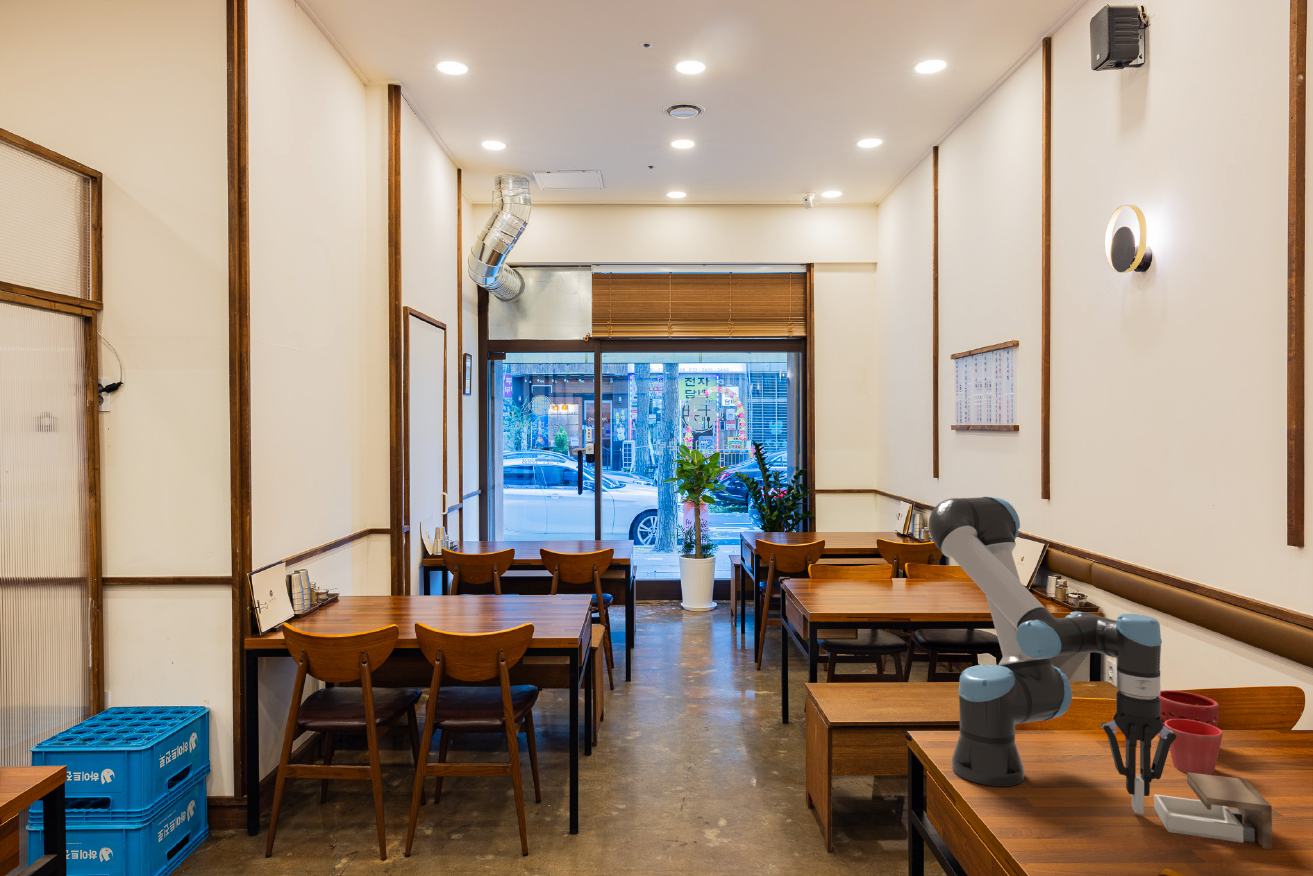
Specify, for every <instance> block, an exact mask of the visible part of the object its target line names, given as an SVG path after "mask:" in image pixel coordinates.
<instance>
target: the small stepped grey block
mask: <svg viewBox="0 0 1313 876" xmlns="http://www.w3.org/2000/svg"><path fill="white" fill-rule="evenodd" d="M1228 809H1229V810H1230V811H1231V812H1232V814H1233V815H1234V816H1235V817H1236V819H1237V820H1238V821H1239V822H1240V824H1241V825H1242V826H1243V842H1249V843H1256V839H1255V829H1254V828H1253V827H1252V825H1251V824H1246V823H1242V814H1241V813H1240V811H1239V810H1238V809H1235V808H1234V809H1233V808H1228Z"/></svg>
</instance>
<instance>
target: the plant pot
mask: <svg viewBox="0 0 1313 876" xmlns="http://www.w3.org/2000/svg"><path fill="white" fill-rule="evenodd" d="M1158 697H1159V698H1160V700H1161V704H1160V719H1161V721H1162V723H1163V726H1164V727H1165V721H1167V720H1170V719H1188V720H1194V721H1199V722H1203V723H1206V724H1209V725H1212V726H1214V727H1217V726H1218V720H1219V717H1220V716H1219V712H1220V705H1219V703H1218V702H1217V701H1216V700H1214V699H1213V698H1209V697H1207V696H1204V695H1200V694H1196V693H1191V692H1185V691H1181V690H1180V691H1179V690H1172V689H1170V690H1167V689H1164V690H1162V689H1161V690H1160V695H1159V696H1158ZM1196 704H1197V705H1196ZM1217 728H1218V727H1217ZM1156 736H1157V737H1158V739H1160V737H1161V736H1160V732H1159V733H1158V734H1157V735H1156Z"/></svg>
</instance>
